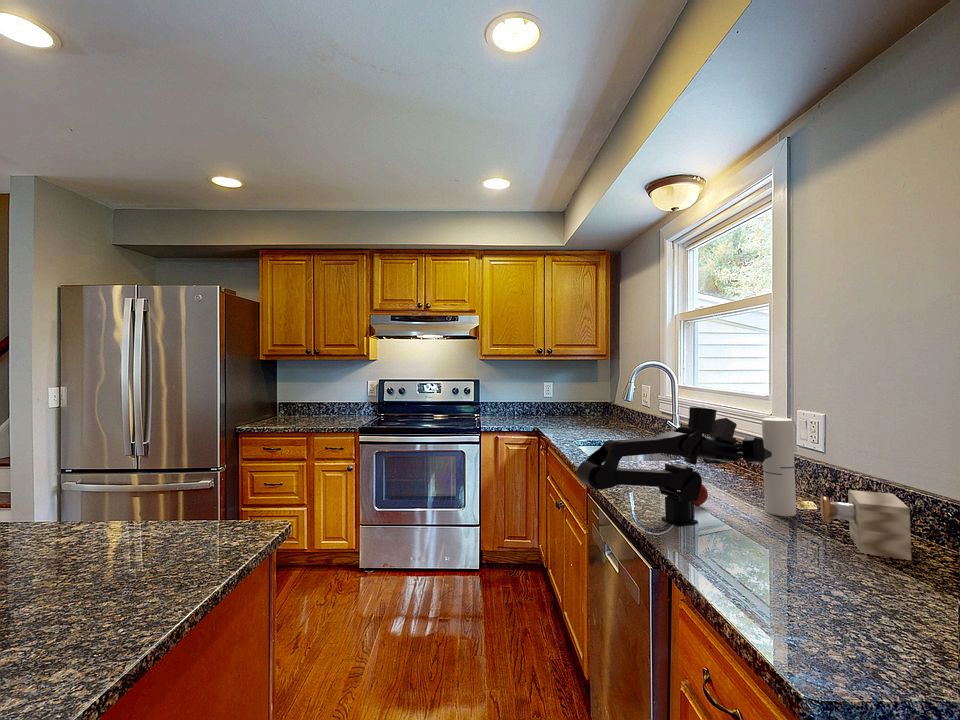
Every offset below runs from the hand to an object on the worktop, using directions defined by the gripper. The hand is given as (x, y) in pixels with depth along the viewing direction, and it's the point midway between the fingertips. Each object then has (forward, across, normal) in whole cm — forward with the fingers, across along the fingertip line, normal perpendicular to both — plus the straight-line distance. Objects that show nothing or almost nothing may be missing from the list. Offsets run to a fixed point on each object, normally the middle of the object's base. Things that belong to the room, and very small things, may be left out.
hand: (756, 455), depth 128 cm
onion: (-9, +13, +15) cm, 22 cm away
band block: (+6, -24, +20) cm, 32 cm away
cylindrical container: (+8, +1, +14) cm, 17 cm away
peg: (+2, -21, +16) cm, 27 cm away
